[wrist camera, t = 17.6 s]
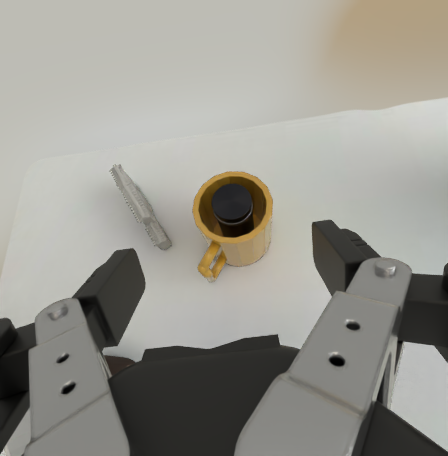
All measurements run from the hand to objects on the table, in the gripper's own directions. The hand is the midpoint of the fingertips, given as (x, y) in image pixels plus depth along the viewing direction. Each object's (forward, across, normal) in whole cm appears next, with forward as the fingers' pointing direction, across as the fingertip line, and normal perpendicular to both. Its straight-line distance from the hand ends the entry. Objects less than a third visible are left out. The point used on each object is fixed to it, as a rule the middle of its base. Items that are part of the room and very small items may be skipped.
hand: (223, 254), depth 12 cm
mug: (+20, +1, +10) cm, 22 cm away
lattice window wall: (+25, +12, +6) cm, 28 cm away
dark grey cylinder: (+20, 0, +8) cm, 22 cm away
